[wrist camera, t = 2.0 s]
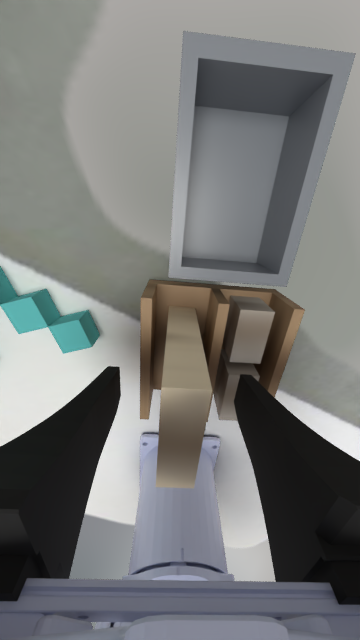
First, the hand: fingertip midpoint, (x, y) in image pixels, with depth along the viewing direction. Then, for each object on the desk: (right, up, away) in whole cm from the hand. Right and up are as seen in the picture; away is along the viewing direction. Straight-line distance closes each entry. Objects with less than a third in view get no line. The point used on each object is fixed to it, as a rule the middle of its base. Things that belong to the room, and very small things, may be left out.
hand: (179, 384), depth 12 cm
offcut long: (+4, 0, +5) cm, 6 cm away
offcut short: (+4, +4, +3) cm, 7 cm away
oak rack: (+2, +2, +5) cm, 6 cm away
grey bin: (+3, +11, +1) cm, 12 cm away
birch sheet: (0, +2, +4) cm, 4 cm away
